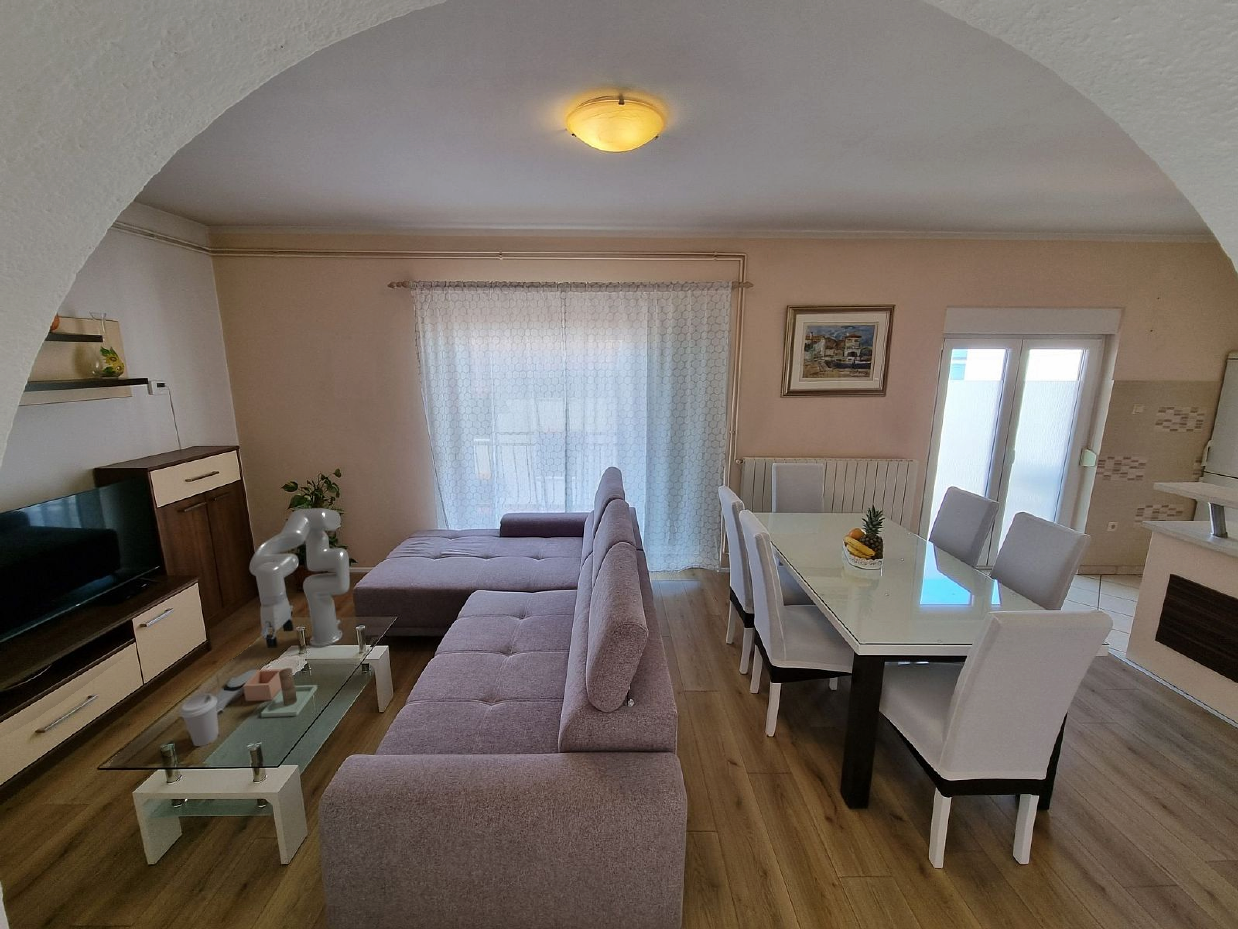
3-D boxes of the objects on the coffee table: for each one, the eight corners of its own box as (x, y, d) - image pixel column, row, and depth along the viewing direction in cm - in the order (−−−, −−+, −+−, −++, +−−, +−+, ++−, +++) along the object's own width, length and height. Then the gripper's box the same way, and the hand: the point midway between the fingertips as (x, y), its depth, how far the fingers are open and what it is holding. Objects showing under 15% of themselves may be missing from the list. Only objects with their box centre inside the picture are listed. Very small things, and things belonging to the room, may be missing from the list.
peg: (288, 698, 181) (283, 668, 178) (299, 697, 181) (294, 667, 178) (281, 706, 177) (276, 675, 174) (293, 705, 177) (288, 675, 174)
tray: (284, 691, 185) (283, 686, 185) (317, 690, 186) (316, 685, 186) (261, 719, 172) (260, 713, 171) (297, 718, 173) (296, 712, 172)
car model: (187, 720, 171) (184, 709, 170) (246, 675, 194) (243, 664, 193) (215, 724, 170) (212, 712, 168) (271, 677, 193) (269, 667, 192)
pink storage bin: (261, 686, 188) (258, 669, 186) (286, 685, 188) (283, 669, 187) (246, 703, 179) (243, 686, 177) (272, 702, 180) (268, 685, 178)
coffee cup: (203, 753, 157) (194, 714, 154) (179, 747, 159) (170, 709, 156) (231, 730, 167) (223, 694, 163) (209, 725, 168) (200, 689, 165)
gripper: (276, 584, 177) (283, 625, 182) (246, 610, 161) (254, 654, 165) (298, 584, 178) (304, 624, 183) (269, 610, 162) (277, 654, 166)
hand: (281, 639), depth 174 cm, fingers open, 9 cm apart
